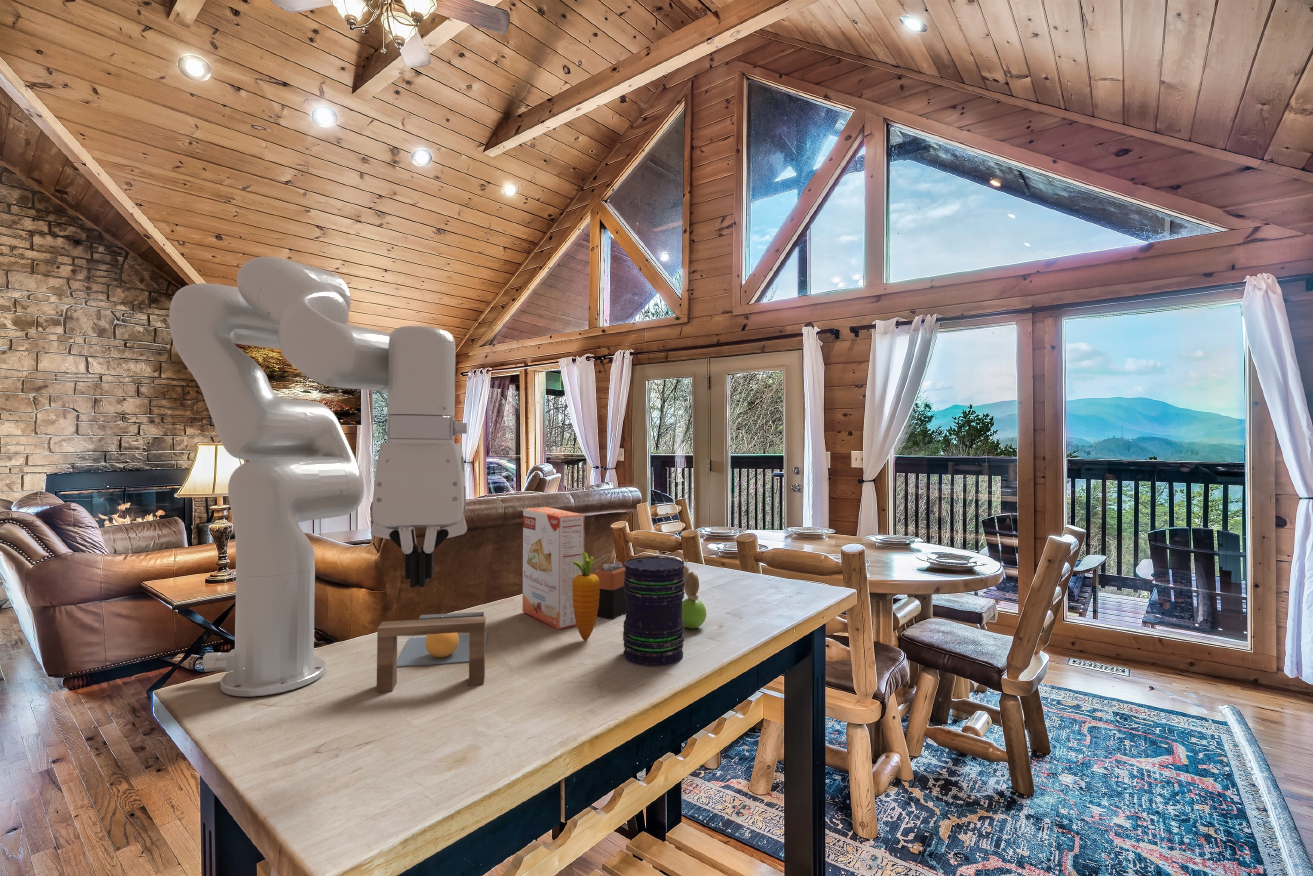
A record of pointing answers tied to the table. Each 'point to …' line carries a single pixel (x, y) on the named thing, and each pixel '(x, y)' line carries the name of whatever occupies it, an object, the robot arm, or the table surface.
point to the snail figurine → (692, 601)
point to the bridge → (428, 626)
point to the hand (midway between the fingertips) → (419, 584)
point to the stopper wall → (451, 615)
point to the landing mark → (420, 656)
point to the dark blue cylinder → (653, 611)
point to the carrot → (585, 597)
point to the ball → (442, 644)
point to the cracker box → (551, 563)
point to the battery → (611, 590)
